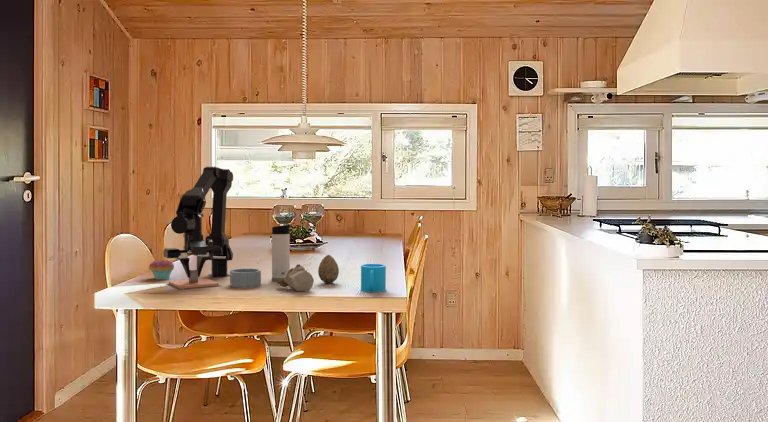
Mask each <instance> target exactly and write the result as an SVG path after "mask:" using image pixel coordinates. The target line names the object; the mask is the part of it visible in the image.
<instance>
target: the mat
mask: <svg viewBox="0 0 768 422" xmlns="http://www.w3.org/2000/svg"><path fill="white" fill-rule="evenodd" d="M165 285H166V286H169V287H171V288H173V289H175V290H177V291H186V290H196V289H209V288H217V287H218V288H219V287H221V288H222V285H221V284H219V286H208V287H197V288H185V289H179V288H177V287H175V286H173V285H171V284H169V282H167V283H165Z"/></svg>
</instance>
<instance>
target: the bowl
mask: <svg viewBox="0 0 768 422" xmlns="http://www.w3.org/2000/svg"><path fill="white" fill-rule="evenodd" d="M229 275H230V276H229V284H230V287H232V288H244V289H245V288H246V289H247V288H256V287H259V286H261V285H262V270H261V269H257V268H235V269H234V268H233V269H231V270H230V271H229Z"/></svg>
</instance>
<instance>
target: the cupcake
mask: <svg viewBox="0 0 768 422" xmlns="http://www.w3.org/2000/svg"><path fill="white" fill-rule="evenodd" d="M174 268H175V264H174V263H172V261H169V260H167V259H166V257H163V259H156V260H153V261H152V262H150V264H149V266H148V270H149V271H151V272H152V274H153V277H154V279H155V280H168V279H170V277H171V274H172V271H174Z"/></svg>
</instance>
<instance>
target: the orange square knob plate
mask: <svg viewBox="0 0 768 422" xmlns="http://www.w3.org/2000/svg"><path fill="white" fill-rule="evenodd" d="M189 270H190V278H187V279H179V280H177V279H176V280H168V283H169V284H171V285H173V286H175V287H177V288H179V289H185V288H197V287H208V286H219V285H220V283H219V282H217V281H214V280H212V279H210V278H207V277H202V278H201V277H200V278H199V277H198V270H197V269H189Z"/></svg>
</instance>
